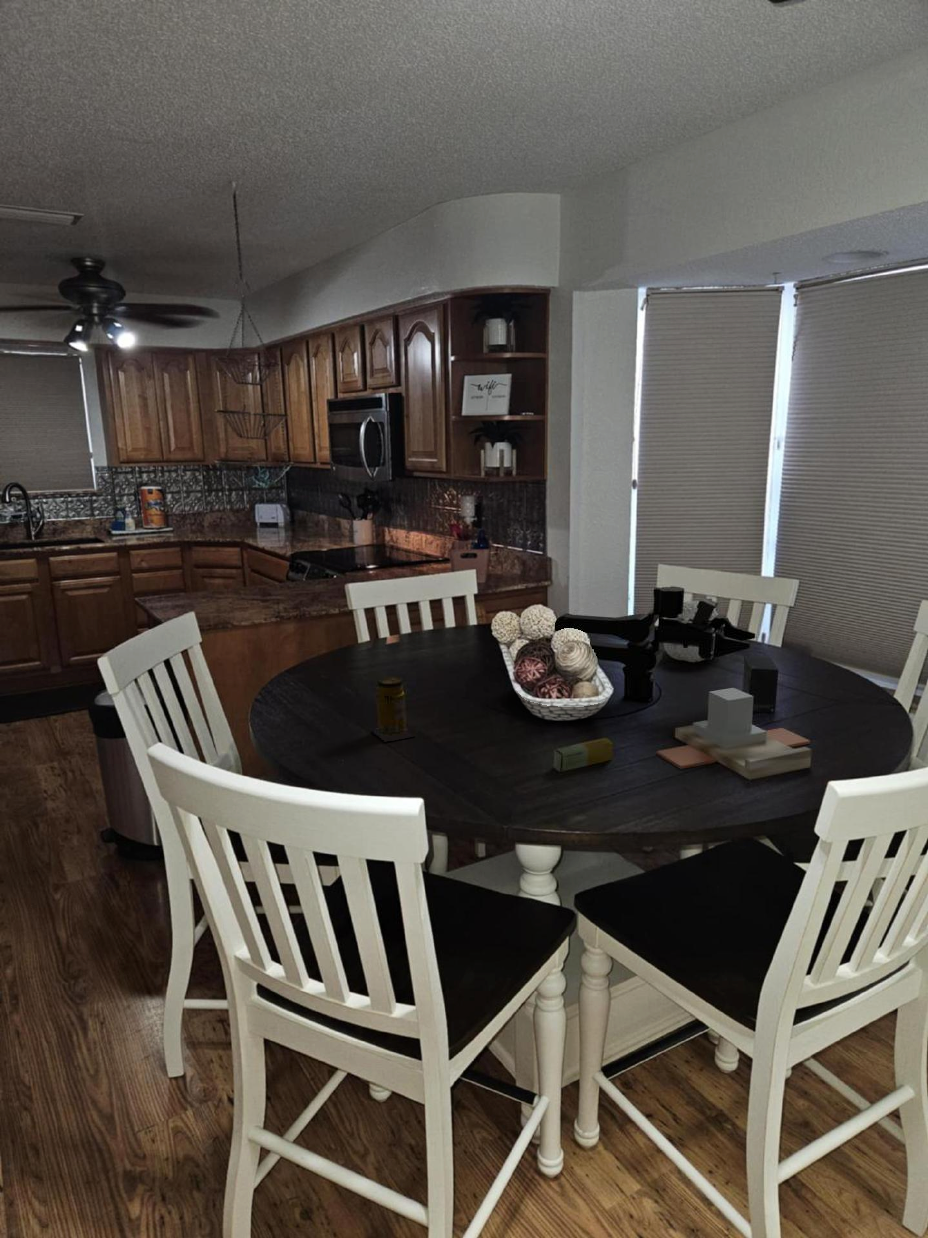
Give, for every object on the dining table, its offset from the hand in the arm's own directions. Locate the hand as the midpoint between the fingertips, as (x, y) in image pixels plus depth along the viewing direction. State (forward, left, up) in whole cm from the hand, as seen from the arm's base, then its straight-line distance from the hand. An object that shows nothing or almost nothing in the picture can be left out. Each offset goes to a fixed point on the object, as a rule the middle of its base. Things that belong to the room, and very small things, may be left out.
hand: (752, 640), depth 176 cm
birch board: (+1, -25, -16) cm, 30 cm away
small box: (+2, +5, -17) cm, 18 cm away
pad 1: (-9, -32, -16) cm, 37 cm away
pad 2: (+8, -16, -17) cm, 24 cm away
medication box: (-26, -42, -17) cm, 52 cm away
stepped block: (-2, -23, -15) cm, 27 cm away
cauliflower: (-18, +41, -17) cm, 48 cm away
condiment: (-69, -41, -17) cm, 82 cm away
